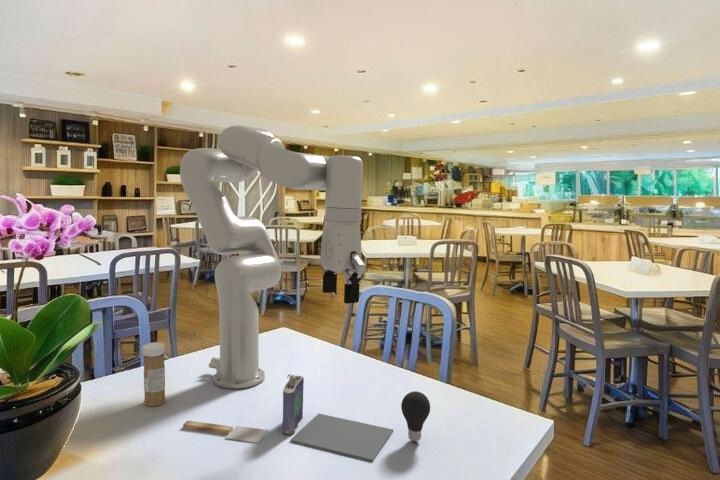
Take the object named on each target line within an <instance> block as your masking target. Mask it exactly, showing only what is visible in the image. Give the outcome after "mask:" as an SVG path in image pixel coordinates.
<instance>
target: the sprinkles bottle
mask: <svg viewBox="0 0 720 480" xmlns="http://www.w3.org/2000/svg"><path fill="white" fill-rule="evenodd" d="M165 352H166V345H165V343H164V342H158V341H157V342H149V343H146V344H144V345H142V356H143V390H144V401H143V403H144V405H145V406H147V407H158V406H161V405H163V404H165V403H166V393H165V392H166V391H165V390H166V366H165Z"/></svg>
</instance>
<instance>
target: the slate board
mask: <svg viewBox="0 0 720 480" xmlns="http://www.w3.org/2000/svg"><path fill="white" fill-rule="evenodd" d="M393 432H394V429H392V428H388V427H384V426H383V427H382V426H379V425H373V424H369V423H366V422H365V423H364V422H360V421H355V420H352V419H351V420H350V419H346V418H341V417H338V416H333V415H328V414H322V413H318V412H317V414H316V415H315V416H314V417H313V418H312V419H311V420H310V421H308V422H307V423H306V425H304V427H302V428H301V429H300V430H299V431H298V432H297V433H295V435H294V436H293V437H292V438H290V443H295V444H300V445H304V446H307V447H311V448H314V449H319V450H323V451H327V452H332V453H336V454H339V455H344V456H348V457H351V458H354V459H355V458H356V459H360V460H364V461H368V462H371V463H372V462H374V461H375V460H376V458H377V456H378V455H379V453H380V451H382V449H383V448H384V446H385V444H386V443H387V441H388V440H389V439H390V437H391V436H392V434H393Z"/></svg>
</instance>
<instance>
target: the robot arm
mask: <svg viewBox="0 0 720 480" xmlns="http://www.w3.org/2000/svg"><path fill="white" fill-rule="evenodd" d="M218 147H219V148H210V147H207V148H206V147H200V148H193V149H191V150H188V151H187V152H185V153H184V154H183V156H182V158H181V162H180V165H179V166H180V167H179V176H180V182H181V185H182V188H183V190H184V192H185V194H186V197H187V198H188V200H189V201H190V203H191V205H192V207H193V209H194V210H195V213H196V215H197V218H198V221H199V224H200V226H201V229H202V231H203V234H204V236H205V239H206V242H207V244H208V246H209V248H210V250H211V251H212V252H213V253H214V254H216V255H221V256H223V255H227V256H228V255H233V256H229V257H227V258H225V259H223V260H221V261H220V262H219V263H218V264H217V266H216V268H215V270H214V281H215V287H216V290H217V291H216V292H217V297H218V310H219V311H218V313H219V317H218V318H219V357H215V356H213V357H212V358H211V359H210V362H209V364H208V367H209V368H210V369H215V370H216V372H215V374H214V375H213V383H214V385H215V386H216V385H217V386H218V387H220V388H224V389H229V390H231V389H232V390H233V389H235V390H237V389H246V388H251V387H255V386H256V385H259V384H260V383H262V382H263V381H264V380H265V377H266V376H265V371H264V370H263V369H262V368H260V367H259V366H260V365H259V363H260V362H259V360H260V359H259V348H260V347H259V344H260V343H259V341H260V340H259V339H260V338H259V337H260V336H259V335H260V334H259V330H260V328H259V326H260V325H259V308H258V305H257V302H256V301H255V299H254V298H253V296H252V293H254V292H259V291H263V290H267V289H271V288H273V287H275V286H277V285H278V283H279V282H280V281H281V279H282V278H281V277H282V266H281V263H280V260H279V257H278V254H277V252H276V249H275V247H274V244H273V242H272V239H271V237H270V235H269V233H268V231H267V228H266V226H265V225H264V224H263V222H261V221H260V220H259V219H258V218H257V217H254V216H246V215H245V216H238V215H236V214H235V213H234V212H233V209H232V208H231V204H230V202H229V200H228V198H227V196H226V195H225V194H224V193H223V192H222V190H220V189H219V188H218V187H217V186H216V185H214V183H229V184H231V183H232V184H233V183H234V184H235V183H237V184H238V183H240V182H241V183H242V182H245V181H246V180H248V179H250V177H252V176H253V175H254V174H255V173H257V172H259V173H260V175H261V176H262V177H263V178H264V179H265V180H268V181H269V182H270V183H274V184H277V185H279V186H281V187H284V188H286V189H290V190H295V191H325V198H324V224H323V229H322V236H321V243H320V255H319V258H320V259H319V263H320V266H321V267H322V269H321V273H322V289H321V290H322V291H321V292H322V293H323V294H331V293H336V292H337V289H338V285H337V284H338V274H342V273H343V275H344V279H345V282H346V283H344V291H343V292H344V293H343V303H344V304H347V305H348V304H356V303H359V302H360V284H361V283H362V279H363V277H364V272H365V269H366V264H365V263H364V262H363V260H362V237H361V236H362V235H361V224H362V223H361V222H362V201H363V199H362V198H363V177H364V174H363V173H364V162H363V160H362V159H361V158H360V157H359V156H354V155H336V154H335V155H332V156H329V155H322V154H313V153H306V152H304V153H303V152H297V151H293V150H289V149H286V148H285V146H284V144H283V142H282V140H280V139H279V138H278V137H276V136H274V134H272V133H271V132H270V131H268V130H267V129H263V128H259V127H252V126H246V125H244V126H243V125H238V124H237V125H232V126H231V125H230V126H228V127H227V128H224V129H223V130H222V131H221V133H220V134H219V137H218ZM243 253H244V254H243ZM236 254H240V255H236Z"/></svg>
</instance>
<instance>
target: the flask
mask: <svg viewBox="0 0 720 480" xmlns="http://www.w3.org/2000/svg"><path fill="white" fill-rule="evenodd" d="M286 378H287V379H289V380H288V381H287V382H286V383H285V386H284V388H283V391H282V430H281V431H282V434H283V435H284V436H289V437H291V436H292V435H294V434H296V429H297V428H298V427H299V424H300V423H301V421H302V419H303V418H304V417H303V413H304V410H303V409H304V385H305V384H304V383H305V379H304V376H302V375H294V374H291V373H289V374H288V375H287V376H286Z"/></svg>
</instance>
